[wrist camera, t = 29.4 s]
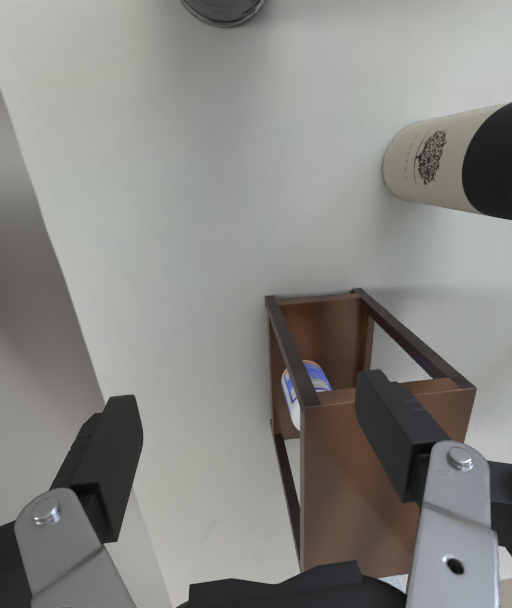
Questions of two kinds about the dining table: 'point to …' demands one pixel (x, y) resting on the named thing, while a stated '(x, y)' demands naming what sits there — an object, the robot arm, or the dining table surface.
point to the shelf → (348, 430)
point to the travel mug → (455, 162)
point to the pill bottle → (291, 399)
